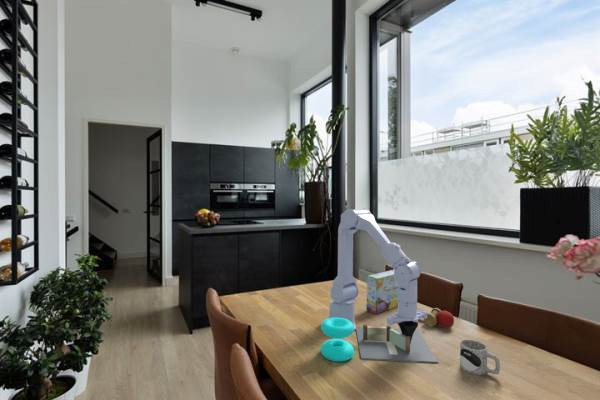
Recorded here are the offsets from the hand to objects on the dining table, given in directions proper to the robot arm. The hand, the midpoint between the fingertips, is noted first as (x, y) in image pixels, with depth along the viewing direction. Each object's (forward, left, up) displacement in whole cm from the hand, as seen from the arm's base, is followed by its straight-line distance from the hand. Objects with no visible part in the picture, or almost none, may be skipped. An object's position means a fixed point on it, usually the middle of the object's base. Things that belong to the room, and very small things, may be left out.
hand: (407, 343), depth 100 cm
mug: (+17, -10, -2) cm, 20 cm away
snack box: (0, +38, -2) cm, 38 cm away
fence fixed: (-9, +5, -2) cm, 10 cm away
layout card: (-4, +4, -2) cm, 6 cm away
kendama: (+13, +23, -2) cm, 27 cm away
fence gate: (-2, 0, -1) cm, 2 cm away
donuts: (-22, -5, -2) cm, 23 cm away
